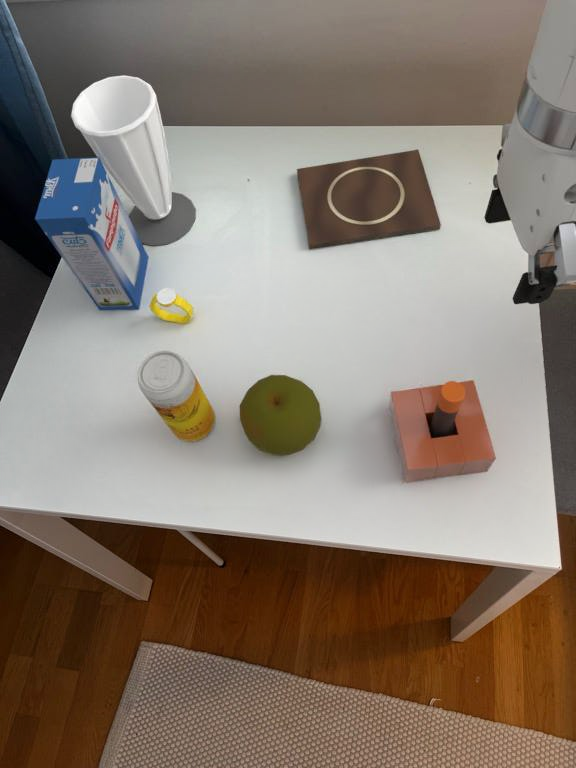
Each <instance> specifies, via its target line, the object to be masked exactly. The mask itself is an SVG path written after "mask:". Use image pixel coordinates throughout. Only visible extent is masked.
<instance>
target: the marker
mask: <svg viewBox="0 0 576 768" xmlns="http://www.w3.org/2000/svg"><path fill="white" fill-rule="evenodd" d="M458 382H459V381H456V380H450V381H447V382H445V383H444V385H443V384H442V385H443V386H442V388H441V391H440V394H439V398H438V402H437V406H436V409H435V412H434V415H433V418H432V421H431V425H430V427H429V431H430V436H431V439H432V438H438V437H445V436H449V432H450V430H451V427H452V425H453V422H454V420H455V417H456V415H457V413H458V410H459V408H460V406H461V404H462V402H463V399H464V397H465V389H464V387H463V386H462V385H461V384H460V383H458Z"/></svg>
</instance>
